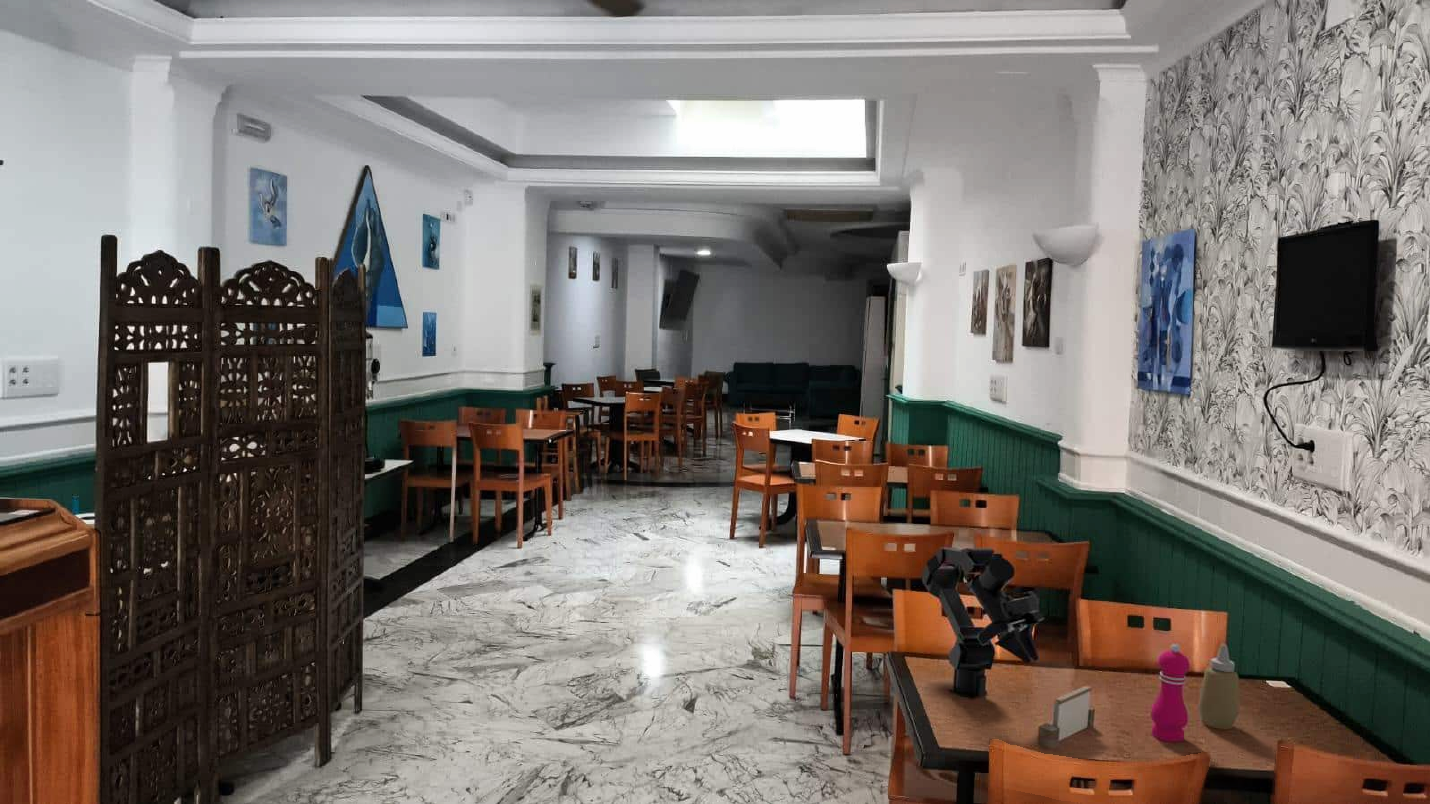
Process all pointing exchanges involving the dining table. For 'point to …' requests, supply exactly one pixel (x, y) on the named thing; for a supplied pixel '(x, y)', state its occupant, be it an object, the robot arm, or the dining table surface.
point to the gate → (1072, 712)
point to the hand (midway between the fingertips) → (1033, 661)
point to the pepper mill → (1170, 697)
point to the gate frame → (1057, 732)
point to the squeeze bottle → (1220, 692)
